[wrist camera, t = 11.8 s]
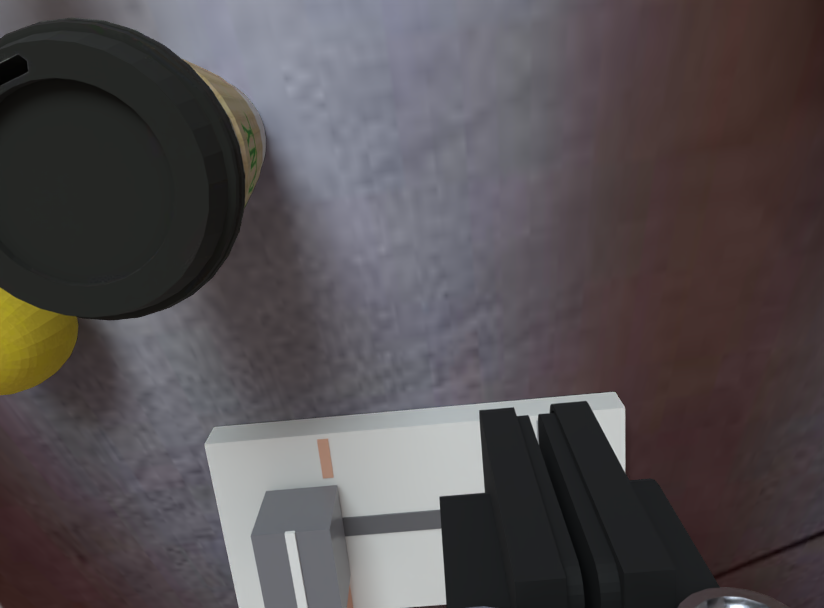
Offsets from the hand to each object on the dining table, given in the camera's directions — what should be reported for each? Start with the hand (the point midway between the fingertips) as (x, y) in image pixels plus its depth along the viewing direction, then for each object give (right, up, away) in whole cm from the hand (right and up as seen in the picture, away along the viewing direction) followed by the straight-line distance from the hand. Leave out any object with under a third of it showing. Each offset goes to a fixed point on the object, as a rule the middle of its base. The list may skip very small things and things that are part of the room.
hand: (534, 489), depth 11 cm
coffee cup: (-12, +11, +25) cm, 30 cm away
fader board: (-1, -9, +31) cm, 33 cm away
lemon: (-22, +3, +28) cm, 35 cm away
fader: (-8, -10, +29) cm, 32 cm away
